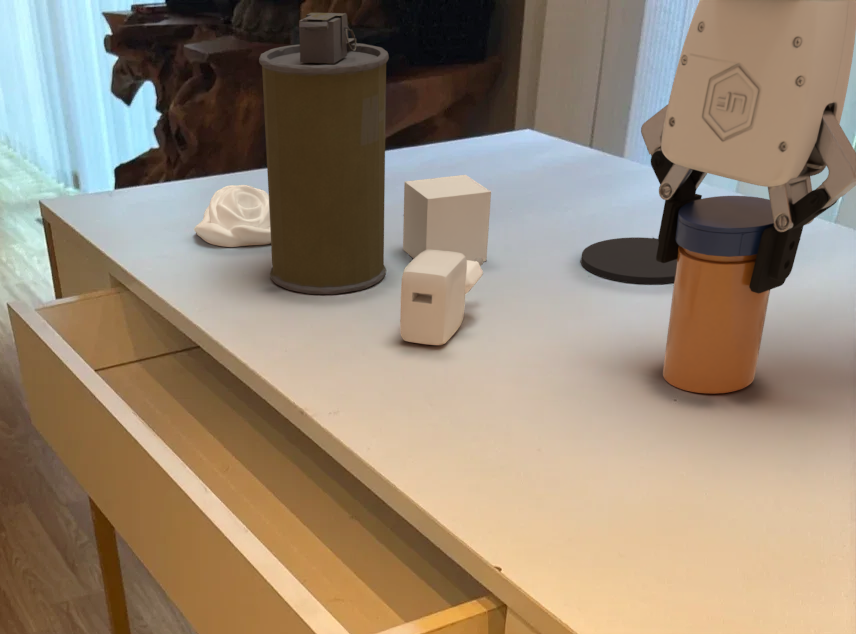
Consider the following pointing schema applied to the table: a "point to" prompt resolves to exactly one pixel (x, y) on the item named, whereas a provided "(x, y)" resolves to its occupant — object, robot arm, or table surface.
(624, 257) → the coaster
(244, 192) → the rose
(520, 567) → the table surface
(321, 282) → the canister
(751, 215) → the jar lid
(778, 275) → the robot arm
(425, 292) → the power adapter
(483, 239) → the beige cube
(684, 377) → the jar
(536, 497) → the table surface
